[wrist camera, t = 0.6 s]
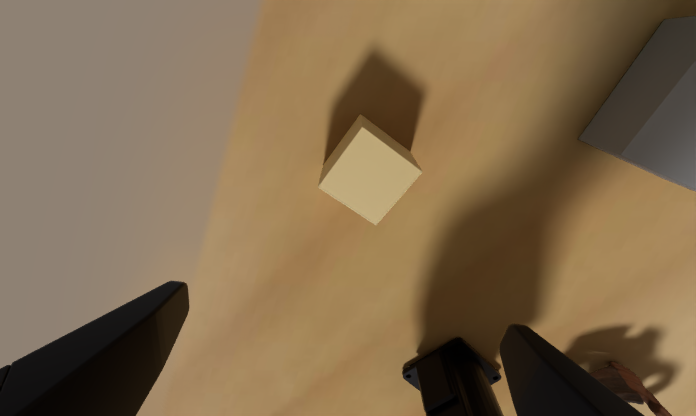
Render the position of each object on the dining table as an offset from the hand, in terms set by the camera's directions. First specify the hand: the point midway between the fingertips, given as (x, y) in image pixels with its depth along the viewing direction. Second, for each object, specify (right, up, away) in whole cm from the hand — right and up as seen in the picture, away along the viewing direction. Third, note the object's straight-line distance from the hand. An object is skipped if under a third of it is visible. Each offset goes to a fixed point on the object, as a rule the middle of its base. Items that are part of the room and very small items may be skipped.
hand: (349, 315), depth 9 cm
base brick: (+19, +9, +10) cm, 23 cm away
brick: (+1, +6, +12) cm, 14 cm away
